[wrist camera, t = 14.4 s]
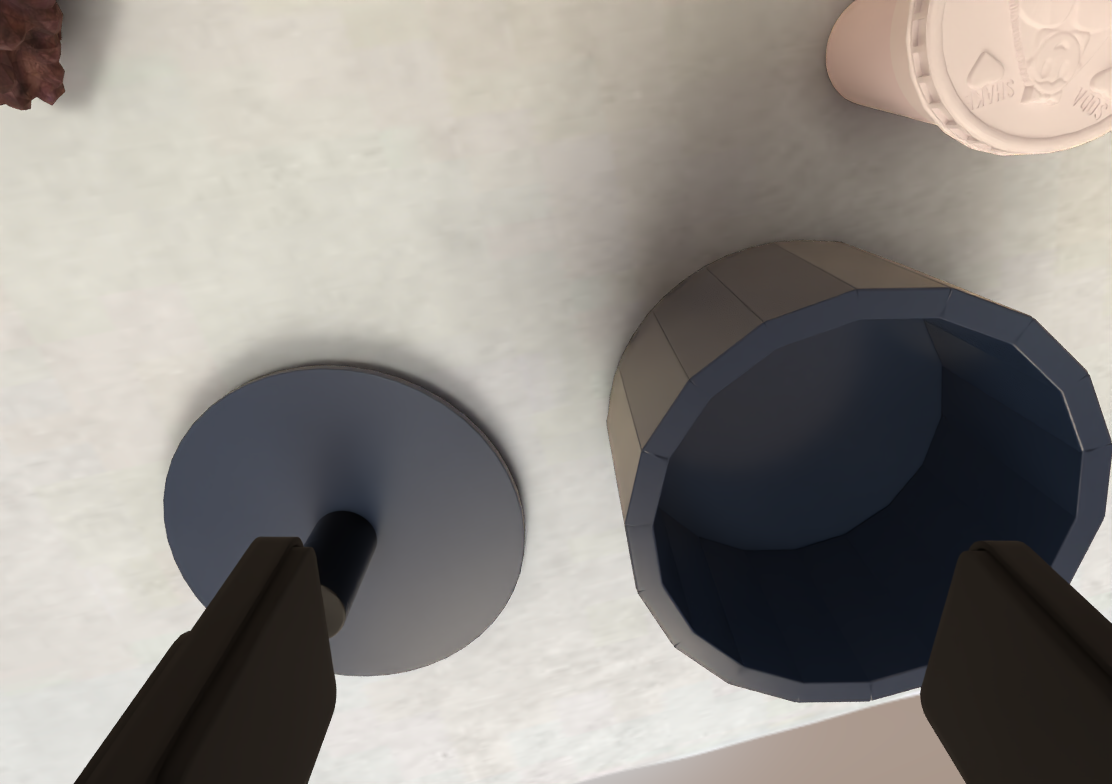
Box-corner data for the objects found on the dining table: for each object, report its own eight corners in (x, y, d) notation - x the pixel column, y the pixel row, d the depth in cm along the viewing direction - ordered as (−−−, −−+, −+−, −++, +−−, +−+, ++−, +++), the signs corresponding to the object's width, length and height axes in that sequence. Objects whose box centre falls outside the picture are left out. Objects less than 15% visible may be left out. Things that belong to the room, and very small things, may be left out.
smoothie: (994, -48, 23) (1566, -270, 10) (941, 152, 25) (1349, 182, 12) (807, -65, 23) (1145, -315, 10) (771, 138, 25) (1005, 154, 12)
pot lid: (138, 363, 28) (34, 423, 23) (519, 356, 28) (510, 414, 23) (214, 662, 34) (146, 770, 28) (530, 657, 34) (526, 764, 28)
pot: (607, 242, 27) (630, 292, 19) (993, 236, 27) (1180, 283, 19) (603, 562, 32) (620, 706, 24) (924, 557, 32) (1047, 699, 24)
